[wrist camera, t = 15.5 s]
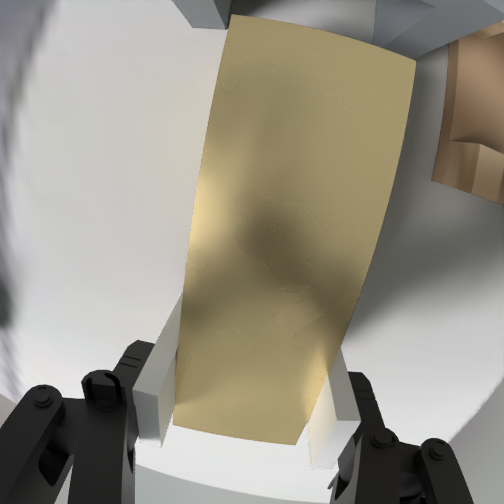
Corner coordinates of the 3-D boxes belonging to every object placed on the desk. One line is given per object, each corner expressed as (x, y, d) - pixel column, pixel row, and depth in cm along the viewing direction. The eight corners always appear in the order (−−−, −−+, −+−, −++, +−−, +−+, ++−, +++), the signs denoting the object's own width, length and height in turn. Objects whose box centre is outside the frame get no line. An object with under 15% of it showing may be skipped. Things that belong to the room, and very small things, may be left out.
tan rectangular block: (245, 58, 11) (232, 14, 7) (366, 86, 11) (416, 61, 7) (195, 353, 16) (172, 424, 11) (290, 370, 16) (295, 445, 11)
